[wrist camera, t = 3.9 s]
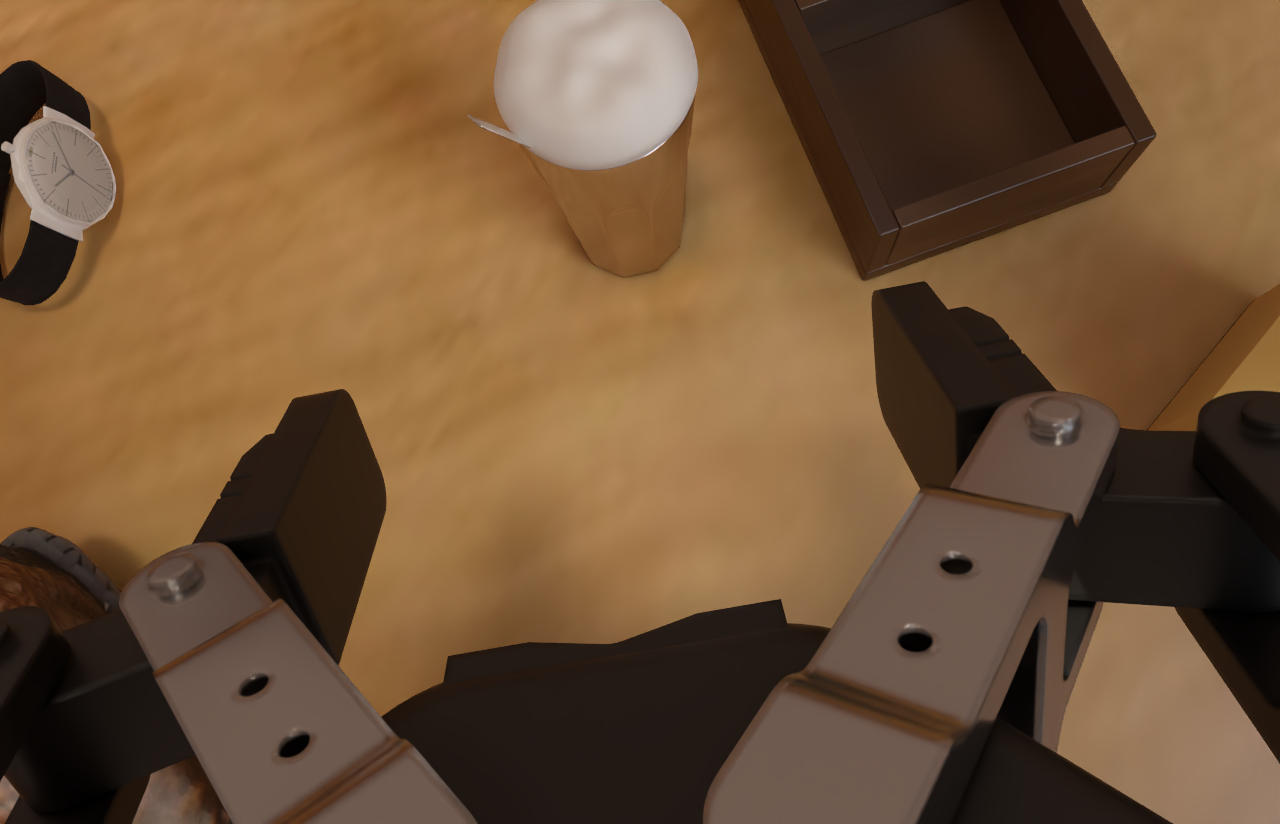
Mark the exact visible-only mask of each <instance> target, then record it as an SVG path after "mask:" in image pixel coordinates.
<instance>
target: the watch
mask: <svg viewBox="0 0 1280 824" xmlns="http://www.w3.org/2000/svg"><path fill="white" fill-rule="evenodd" d="M45 103H46V106H43V105H44V104H45ZM42 106H43V118H41V119H39V120H36V121H34V122H32V123H30V124H28V123H29V122H30V120H31V118H32V117H33V116H34V114H35V113H36V112H37V111H38V110H39V109H40V108H41V107H42ZM94 137H95V134H94V133H93V132H92V131H91V123H90V111H89V108H88V105H87V102H86V100H85V98H84V97H83V96H82V95H81V93H79V92H77V91H76V90H75V89H73V88H72V87H71V86H69V85H68V84H67V83H65V82H64V81H62V80H61V79H60V78H58V77H57V76H55V75H54V74H52V73H51V72H49V71H48V70H46V69H45V68H43V67H42V66H40V65H39V64H38V63H36V62H34V61H31V60H28V61H20V62H17V63H15V64H12V65H11V66H10V67H9V68H7V69H6V70H5V71H4V72H3V73H1V74H0V231H1V223H2V215H3V207H4V200H5V196H6V192H7V189H8V186H9V185H8V184H9V180H10V176H11V174H9V170H10V167H11V164H12V170H13V175H14V181H15V183H16V185H17V187H18V188H19V190H20V192H21V194H22V195H23V197H24V199H25V201H26V202H27V204H28V206H29V207H30V208H31V209H32V211H31V215H30V220H31V223H30V229H29V234H28V237H27V240H26V243H25V246H24V249H23V251H22V254H21V256H20V258H19V260H18V261H17V263H16V265H15V267H14V268H13V269H12V271H11V272H10V274H9V275H8V276H7V277H6V278H5V279H4V278H3V275H2V270H1V264H0V298H4V299H7V300H11V301H14V302H18V303H21V304H23V305H36V304H40V303H42V302H43V301H45V300H46V299H48V298H49V297H51V296H52V295H53V294H54V293H55V292H56V291H57V290H58V288H59V287H60V285H61V284H62V283H63V281H64V280H65V279H66V276H67V274H68V272H69V269H70V267H71V265H72V262H73V260H74V257H75V254H76V250H77V245H78V241H83V230H85V229H87V228H89V227H90V226H91V225H93V224H95V223H96V222H98V221H100V220H102V219H104V218H105V216H106V215H107V214H108V212H109V211H110V210H111V208H112V207H113V203H114V200H115V194H116V182H115V176H114V173H113V171H112V168H111V165H110V162H109V160H108V158H107V156H106V155H105V153H104V151H103V149H102V147H101V146H100V144H99V143H98V142H97V141H96V140H94Z"/></svg>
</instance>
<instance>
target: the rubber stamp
mask: <svg viewBox="0 0 1280 824" xmlns="http://www.w3.org/2000/svg"><path fill="white" fill-rule="evenodd" d="M1241 391H1274V392H1280V284H1279V285H1277V286H1276V287H1274V288H1273V289H1271V290H1270V291H1268V292H1267V293H1265V294H1264V295H1262V296H1261V297H1259V298H1258V299H1256V300H1255V301H1253V302H1252V303H1251V304H1250V306H1249V307H1248V308H1247V309H1246V310H1245V312H1244V313H1243V314H1242V315H1241V317H1240V318H1239V319H1238V320H1237V321H1236V323H1235V324H1234V325H1233V326H1232V328H1231V329H1230V330H1229V331H1228V332H1227V334H1226V335H1225V336H1224V337H1223V339H1222V340H1221V341H1220V342H1219V343H1218V345H1217V346H1216V347H1215V348H1214V350H1213V351H1212V352H1211V353H1210V354H1209V356H1208V357H1207V358H1206V359H1205V361H1204V362H1203V363H1202V364H1201V365H1200V367H1199V368H1198V369H1197V370H1196V372H1195V373H1194V374H1193V375H1192V376H1191V378H1190V379H1189V380H1188V381H1187V383H1186V384H1185V385H1184V386H1183V387H1182V389H1181V390H1180V391H1179V392H1178V394H1177V395H1176V396H1175V397H1174V398H1173V400H1172V401H1171V402H1170V403H1169V405H1168V406H1167V407H1166V408H1165V409H1164V411H1163V412H1162V413H1161V414H1160V416H1159V417H1158V418H1157V419H1156V420H1155V422H1154V423H1153V424H1152V425H1151V427H1150V428H1149V429H1148V430H1147V431H1196V428H1197V421H1198V414H1199V412H1200V409H1201V408H1202V407H1203V406H1204V404H1206V403H1207V402H1209V401H1210V400H1212V399H1214V398H1216V397H1218V396H1222V395H1225V394H1229V393H1234V392H1241Z"/></svg>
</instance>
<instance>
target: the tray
mask: <svg viewBox="0 0 1280 824" xmlns="http://www.w3.org/2000/svg"><path fill="white" fill-rule="evenodd" d="M739 2H740V5H741V7H742V9H743V11H744V14H745V16H746V18H747V20H748V23H749V25H750V27H751V29H752V32H753V34H754V36H755V38H756V41H757V43H758V45H759V47H760V50H761V52H762V54H763V56H764V59H765V61H766V63H767V65H768V68H769V70H770V72H771V74H772V77H773V79H774V81H775V83H776V86H777V88H778V90H779V92H780V95H781V97H782V99H783V101H784V104H785V106H786V108H787V110H788V113H789V115H790V117H791V119H792V122H793V124H794V126H795V128H796V131H797V133H798V135H799V137H800V140H801V142H802V144H803V146H804V149H805V151H806V153H807V155H808V158H809V160H810V162H811V165H812V167H813V169H814V171H815V174H816V176H817V178H818V180H819V183H820V185H821V187H822V189H823V192H824V194H825V196H826V198H827V201H828V203H829V205H830V207H831V210H832V212H833V214H834V216H835V219H836V221H837V223H838V225H839V228H840V230H841V232H842V234H843V237H844V239H845V241H846V243H847V246H848V248H849V250H850V252H851V255H852V257H853V259H854V261H855V264H856V266H857V268H858V270H859V273H860V275H861V277H862V279H863V280H868V279H870V278H873V277H876V276H879V275H882V274H884V273H887V272H890V271H893V270H895V269H898V268H901V267H904V266H906V265H909V264H912V263H915V262H917V261H920V260H923V259H926V258H928V257H931V256H934V255H937V254H939V253H942V252H945V251H948V250H950V249H953V248H956V247H959V246H961V245H964V244H967V243H970V242H972V241H975V240H978V239H981V238H983V237H986V236H989V235H992V234H995V233H997V232H1000V231H1003V230H1006V229H1008V228H1011V227H1014V226H1017V225H1019V224H1022V223H1025V222H1028V221H1030V220H1033V219H1036V218H1039V217H1041V216H1044V215H1047V214H1050V213H1052V212H1055V211H1058V210H1061V209H1063V208H1066V207H1069V206H1072V205H1074V204H1077V203H1080V202H1083V201H1085V200H1088V199H1091V198H1094V197H1096V196H1099V195H1102V194H1105V193H1108V192H1110V191H1111V190H1112V188H1113V187H1114V186H1115V185H1116V184H1117V182H1118V181H1119V180H1120V179H1121V178H1122V177H1123V175H1124V174H1125V173H1126V172H1127V171H1128V169H1129V168H1130V167H1131V166H1132V165H1133V163H1134V162H1135V161H1136V160H1137V159H1138V157H1139V156H1140V155H1141V154H1142V153H1143V152H1144V150H1145V149H1146V148H1147V147H1148V146H1149V144H1150V143H1151V142H1152V141H1153V140H1154V138H1155V137H1156V132H1155V130H1154V129H1153V127H1152V125H1151V123H1150V122H1149V120H1148V118H1147V116H1146V114H1145V113H1144V111H1143V109H1142V107H1141V105H1140V104H1139V102H1138V100H1137V98H1136V97H1135V95H1134V93H1133V91H1132V89H1131V88H1130V86H1129V84H1128V82H1127V80H1126V79H1125V77H1124V75H1123V73H1122V72H1121V70H1120V68H1119V66H1118V64H1117V63H1116V61H1115V59H1114V57H1113V55H1112V54H1111V52H1110V50H1109V48H1108V47H1107V45H1106V43H1105V41H1104V39H1103V38H1102V36H1101V34H1100V32H1099V30H1098V29H1097V27H1096V25H1095V23H1094V22H1093V20H1092V18H1091V16H1090V14H1089V13H1088V11H1087V9H1086V7H1085V5H1084V4H1083V2H1082V0H739Z"/></svg>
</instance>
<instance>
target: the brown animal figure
mask: <svg viewBox="0 0 1280 824" xmlns="http://www.w3.org/2000/svg"><path fill="white" fill-rule="evenodd" d="M120 594H121V592H120V591H119V590H118V588H117V587H116V585H115V584H114V583H113V581H112V580H111V579H110V578H109V577H108V576H107V575H106V574H105V573H104V572H103V571H102V570H100V569H99V568H98V567H97V566H96V565H95V564H94V563H93V562H92V561H91V560H90V559H89V558H88V557H87V556H86V555H85V554H84V553H83V552H82V550H81V549H80V548H79V547H77V546H76V545H75V544H74V543H72V542H71V541H69V540H67V539H65V538H63V537H60V536H57V535H54V534H52V533H49V532H47V531H45V530H42V529H39V528H35V527H29V528H24V529H21V530H18V531H16V532H14V533H12V534H11V535H10V536H8V537H7V538H6V539H5V540H4V541H3V542H2V543H0V612H2V611H5V610H9V609H13V608H17V607H23V606H36V607H40V608H43V609H45V610H46V611H47V612H48V613H49V614H50V616H51V617H52V619H53V620H54V622H55V623H56V625H57V626H58V628H59V629H60V630H61V632H62V631H64V630H67V629H70V628H72V627H75V626H78V625H80V624H83V623H86V622H88V621H91V620H93V619H96V618H99V617H101V616H104V615H107V614H109V613H112V612H115V611H117V610H119V609H120V606H119V597H120ZM19 796H20V795H19V794H18V792H17V791H16V790H15V789H14V787H13V786H12V785H11V784H10V782H9V781H8V780H7V779H6V777H5V776H3V778H2V780H1V781H0V824H4V823H5V822H6V820H7V818H8V816H9V814H10V812H11V810H12V809H13V807H14V805H15V803H16V801H17V799H18V798H19ZM132 824H233V823H232V821H231V819H230V817H229V815H228V814H227V812H226V810H225V808H224V806H223V804H222V802H221V801H220V799H219V797H218V795H217V793H216V791H215V789H214V788H213V786H212V784H211V782H210V780H209V778H208V776H207V775H206V773H205V771H204V769H203V767H202V765H201V763H200V761H199V760H198V758H197V756H196V755H195V756H192V757H190V758H187V759H185V760H183V761H180V762H178V763H176V764H173V765H171V766H169V767H166V768H164V769H161V770H159V771H157V772H154V773H152V774H151V776H150V780H149V783H148V786H147V788H146V791H145V793H144V795H143V798H142V800H141V803H140V805H139V808H138V810H137V813H136V815H135V818H134V820H133V822H132Z"/></svg>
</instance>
